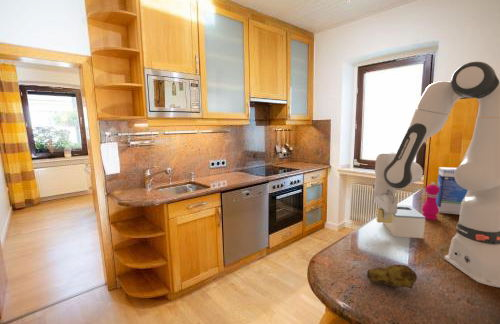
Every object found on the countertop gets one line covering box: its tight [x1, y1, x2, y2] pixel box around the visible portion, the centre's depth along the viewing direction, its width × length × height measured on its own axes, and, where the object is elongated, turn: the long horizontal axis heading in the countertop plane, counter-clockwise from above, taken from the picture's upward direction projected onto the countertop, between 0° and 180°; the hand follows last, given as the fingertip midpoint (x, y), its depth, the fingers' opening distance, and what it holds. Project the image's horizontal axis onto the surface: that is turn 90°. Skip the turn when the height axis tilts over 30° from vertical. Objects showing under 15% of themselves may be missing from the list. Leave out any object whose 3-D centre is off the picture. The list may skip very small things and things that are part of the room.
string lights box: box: [436, 166, 468, 216], centre depth 142 cm, size 13×8×26 cm, turn 68°
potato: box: [366, 264, 418, 289], centre depth 78 cm, size 8×13×8 cm, turn 40°
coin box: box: [383, 204, 426, 239], centre depth 119 cm, size 16×12×10 cm
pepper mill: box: [421, 181, 439, 221], centre depth 134 cm, size 7×7×20 cm
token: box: [376, 208, 392, 224], centre depth 114 cm, size 2×6×6 cm, turn 79°
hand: (384, 217), depth 114 cm, fingers closed on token, 2 cm apart
